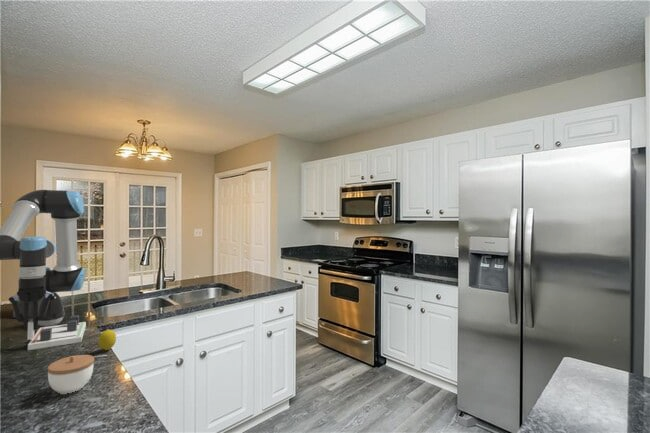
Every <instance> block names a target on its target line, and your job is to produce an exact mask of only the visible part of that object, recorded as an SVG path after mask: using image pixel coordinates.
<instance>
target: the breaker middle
mask: <svg viewBox="0 0 650 433" xmlns="http://www.w3.org/2000/svg"><path fill="white" fill-rule="evenodd" d="M66 324H67V331H73V330H76V329H77V320H72V321H70V320H68V321H67V322H66Z"/></svg>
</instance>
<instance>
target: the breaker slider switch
mask: <svg viewBox="0 0 650 433" xmlns="http://www.w3.org/2000/svg"><path fill="white" fill-rule="evenodd" d="M51 337H52V328H49V329H42V330H41V332H40V341H43V340H50V339H51Z"/></svg>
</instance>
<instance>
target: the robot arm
mask: <svg viewBox="0 0 650 433" xmlns="http://www.w3.org/2000/svg"><path fill="white" fill-rule="evenodd" d="M11 209H12V211H11V212H10V214H9V216H8V217H7V218H6V220H5V221H4V223H3V224H2V226H1V227H0V261H8V260H9V261H10V260H11V261H12V260H19V269H18V270H19V271H18V272H19V274H18V276H19V277H18V280H17V282H18V288H17V289H18V290H17V292H16V293H15V294H14V295H11V296H10V297H8V301H9V302H10V303H11V304H12V307H13V312H12V317H13V318H14V319H16V320H17V322H19V323H23V326H24V327H23V331H24V332H26V331H27V339H26V340H27V341H29V340H30V341H31V340H32V339H33V338H34V336H35V331H36V330H38V329H39V324H38V320H40V319H43V318H44V316H45V314H46V311H47V308H48V305H49V302H50V299H51V298H52V296H53V295H54V293H50V292H55V293H64V292H65V293H66V292H67V293H68V292H69V293H70V292H75V291H81V289H82V288H83V286H84V283H85V278H86V268H82V264H81V263H79V261H78V260H79V259H78V254H79V253H78V230H77V229H78V226H77V224H78V222H77V220H78V219H80V218H81V215H83V214H84V212H85V204H84V199H83V196H82V194H81V193H80V192H79V191H73V190H61V189H60V190H59V189H58V190H55V189H54V190H53V189H35V190H33V191H30V192H28V193H25V194H24V195H22V196H20V197H19V198H18V199H16V200H15V202H14V203H13V204H12V207H11ZM39 214H50V218H51V219H52V220H54V225H55V226H54V227H55V243H54V242H53V241H51V240H49V239H48V240H47V238H46V237H45V236H25V237H23V236H24V234H25V232H26V231H27V229H28V228H29V226H30V224H31V222H32V220H33V219H34V218H35V217H37V216H38V215H39ZM55 253H56V265H55V266H53V269H51V268H50V267H48V266H46V264H47V263H46V262H47V258H50V257H51V256H52V255H54V254H55ZM44 295H46V296H45V298H46V300H45V302H44V305H43V308H42V311H41V314H40V316H39V303H40V301H41V299H42V298H43V296H44ZM31 319H32V320H31Z"/></svg>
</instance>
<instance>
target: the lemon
mask: <svg viewBox="0 0 650 433" xmlns="http://www.w3.org/2000/svg"><path fill="white" fill-rule="evenodd" d="M116 341H117V334H116V333H115V332H114V330H111V329H109V328H108V329H106V330H104V331H101V333H100V335H99V337H98V347H99V348H100V349H102V350H105V351H109V350H110V349H111V348H113V346H115V344H116Z"/></svg>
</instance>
